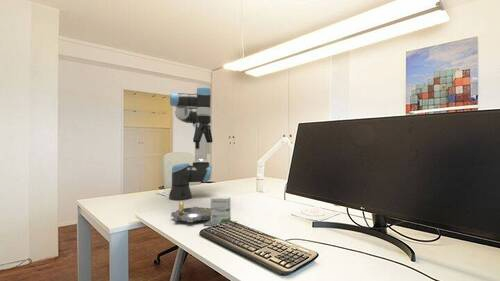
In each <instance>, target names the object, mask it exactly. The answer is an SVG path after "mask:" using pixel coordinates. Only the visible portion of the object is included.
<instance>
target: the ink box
mask: <svg viewBox="0 0 500 281" xmlns="http://www.w3.org/2000/svg"><path fill="white" fill-rule="evenodd" d="M210 208H211V217H210V219H211V224H221V223H224V222H229V221H232V220H231V216H232V214H231V197H230V196H213V197H211V198H210Z"/></svg>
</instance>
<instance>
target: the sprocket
mask: <svg viewBox="0 0 500 281" xmlns="http://www.w3.org/2000/svg"><path fill="white" fill-rule="evenodd" d="M170 217H172V219H173V221H175V222H178V221H180V222H186V223H194V222H200V221H207V220H208V221H209V220H210V219H211V207H200V206H192V207H185V202H184V201H179V203H178V210H176V211H172V212H171V213H170Z"/></svg>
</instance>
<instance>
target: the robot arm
mask: <svg viewBox="0 0 500 281" xmlns="http://www.w3.org/2000/svg"><path fill="white" fill-rule="evenodd" d="M211 94H212V91H211V87H208V86H198V87H196V93H186V92H185V93H184V92H183V93H182V92H181V93H180V92H171V93H170V94H169V104H170V106H171V107H174V108H175V111H174V116H175V117H176V119H178V120H179V121H181V122H183V123H186V124H192V127H194V136H193V138H192V141H193V142H192V143H194V161H193V162H192V165H190V163H187V162H186V163H179V164H175V165H173V166H172V167H171V189H170V191H169V194H168V199H169V200H171V201H185V200H190V199H192V195H193V194H192V191H191V188H190V183H205V182H209V181H210V179H211V175H212V165H211V164H210V162H209V160H208V155H211V153H212V149H211V148H212V143H213V136H212V135H213V134H212V130H211V123H212V117H211V114H212V113H211V112H212V110H211V105H212V104H211V103H212V102H211V99H212V97H211V96H212V95H211Z"/></svg>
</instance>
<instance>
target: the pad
mask: <svg viewBox="0 0 500 281" xmlns="http://www.w3.org/2000/svg"><path fill="white" fill-rule="evenodd" d="M233 221H234V222H236V223H237V220H233ZM215 225H217V224H211V218H209V219H208V221H207V222H205V223H204V224H203V226H204V227H210V226H215Z"/></svg>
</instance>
